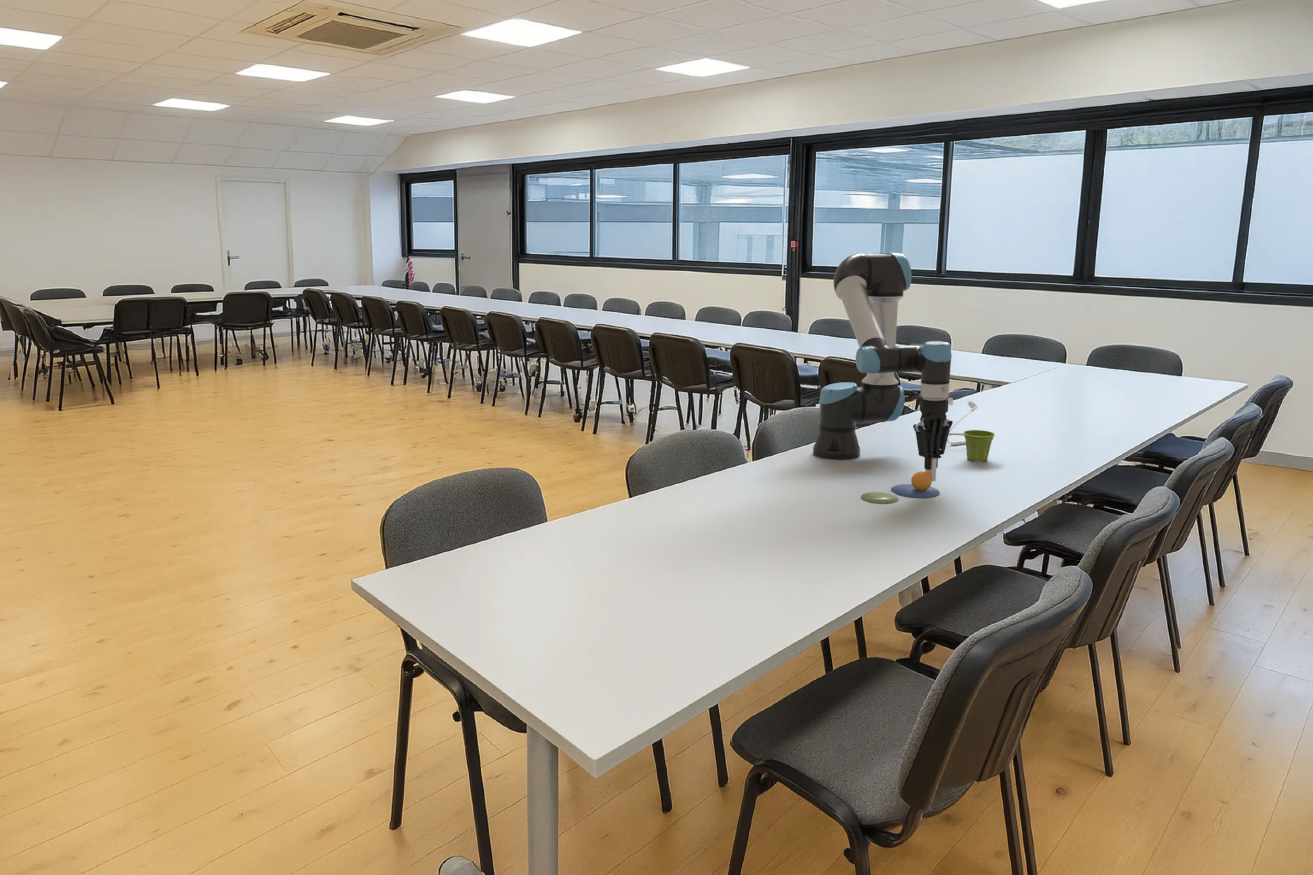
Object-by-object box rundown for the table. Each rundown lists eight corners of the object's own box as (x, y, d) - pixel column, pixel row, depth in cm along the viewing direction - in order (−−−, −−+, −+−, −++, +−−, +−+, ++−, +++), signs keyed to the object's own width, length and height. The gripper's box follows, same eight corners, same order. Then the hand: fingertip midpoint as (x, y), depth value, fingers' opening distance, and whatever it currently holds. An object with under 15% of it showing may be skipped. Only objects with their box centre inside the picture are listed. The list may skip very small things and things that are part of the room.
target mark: (881, 488, 242) (881, 488, 242) (915, 482, 248) (915, 481, 248) (914, 500, 231) (914, 499, 231) (949, 493, 237) (949, 492, 237)
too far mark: (853, 496, 236) (853, 495, 236) (881, 490, 240) (881, 490, 240) (878, 505, 227) (878, 504, 227) (906, 500, 232) (906, 499, 232)
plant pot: (995, 463, 267) (997, 436, 265) (963, 462, 269) (965, 435, 267) (990, 456, 276) (992, 430, 274) (959, 455, 278) (961, 429, 276)
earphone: (918, 431, 295) (942, 393, 301) (933, 461, 305) (956, 424, 311) (954, 437, 285) (978, 398, 291) (968, 468, 295) (991, 429, 301)
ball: (914, 491, 243) (904, 481, 240) (924, 475, 244) (914, 465, 241) (928, 496, 238) (918, 487, 236) (938, 480, 239) (929, 470, 236)
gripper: (927, 402, 230) (923, 486, 235) (961, 397, 236) (957, 479, 241) (907, 398, 236) (903, 480, 242) (941, 393, 242) (937, 473, 247)
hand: (930, 479), depth 241 cm, fingers closed
